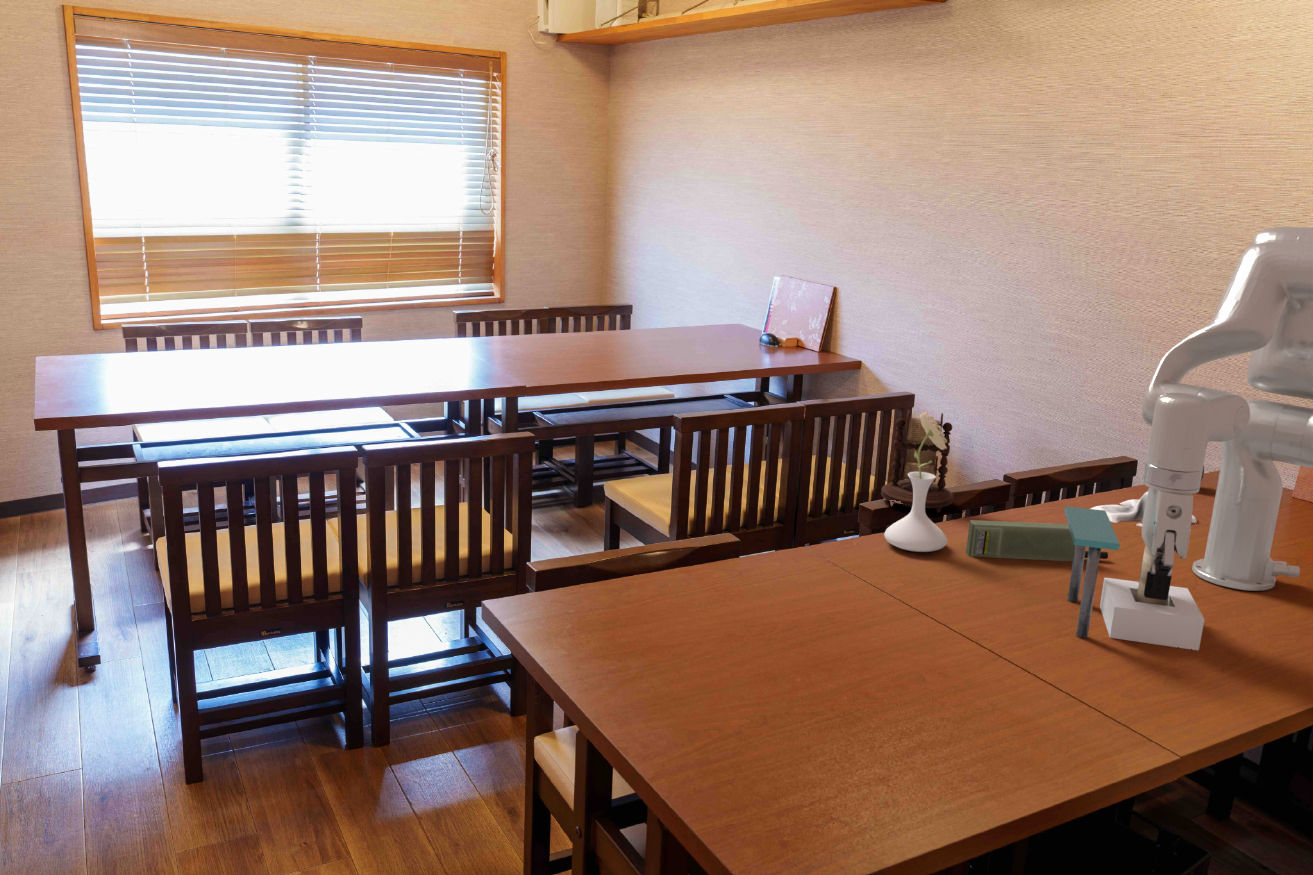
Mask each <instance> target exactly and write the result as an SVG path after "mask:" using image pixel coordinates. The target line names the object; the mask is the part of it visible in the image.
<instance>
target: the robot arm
mask: <svg viewBox="0 0 1313 875" xmlns="http://www.w3.org/2000/svg"><path fill="white" fill-rule="evenodd" d="M1247 353H1250V355H1249V360H1248V365H1247V368H1246V369H1247V370H1246V379H1247V382H1248V383H1249V385H1250V387H1252V388H1254V389H1256V390H1258V391H1261V392H1265V393H1270V394H1275V395H1281V396H1288V397H1294V398H1300V399H1305V400H1310V401H1311V400H1312V401H1313V227H1306V226H1305V227H1304V226H1303V227H1302V226H1301V227H1300V226H1277V227H1276V226H1275V227H1270V228H1268V227H1267V228H1266V229H1263V230H1260V231H1258V232H1257V233H1255V234H1254V236H1253V238H1252V240H1251V243H1250V246H1249V247H1248V248H1246V249H1245V250H1244V251H1243V253H1242V254H1241V255H1240V257H1239V259H1238V261H1237V263H1236V265H1235V267H1234V270H1233V271H1232V274H1231V277H1230V279H1229V281H1228V283H1227V285H1226V288H1225V289H1224V292H1223V293H1222V297H1221V298H1220V301H1219V303H1218V305H1217V307H1216V309H1215V312H1214V314H1213V317H1212V319H1211V320H1210V322H1209V323H1208V324H1206V325H1205V326H1203V327H1201V328H1199V329H1197V330H1196V331H1194V332H1192V333H1190V334H1189V335H1187V336H1185V337H1184V338H1183V339H1182V340H1180V341H1179V342H1178V343H1176V344H1175V345H1174V346H1172V347H1171V348H1170V349H1168V351H1167V352H1166V353H1165V354H1164V355H1163V356H1162V357H1161V359H1160V361H1159V362H1158V364H1157V365H1156V368H1155V370H1154V372H1153V374H1152V377H1151V378H1150V381H1149V383H1148V385H1147V388H1146V390H1145V391H1144V392H1145V393H1144V396H1143V398H1142V402H1141V415H1142V418H1143V420H1144V422H1145V423H1146V424H1147V425H1148V426H1150V428H1151V429H1150V433H1149V434H1150V435H1149V440H1148V447H1147V453H1146V459H1145V460H1146V461H1145V466H1144V472H1143V476H1142V477H1143V478H1142V484H1143V485H1144V486H1146V487H1148V490H1147V492H1148V495H1147V500H1146V505H1145V510H1144V516H1143V522H1142V523H1141V524H1142V527H1141V537H1142V538H1141V539H1142V540H1143V542H1144V544H1145V546H1147V548H1148V550H1149V551H1150V552H1151V553H1152V559H1151V567H1150V572H1149V571H1148V572H1147V578H1146V584H1145V590H1144V596H1145V597H1146V598H1152V599H1160V600H1167V599H1168V594H1169V589H1170V586H1171V583H1172V582H1171V581H1172V574H1173V569H1174V568H1173V567H1174V559H1175V552H1176V555H1177V556H1178V557H1179V558H1180V559H1182V560H1183V559H1185V558H1187V556H1188V552H1189V544H1190V537H1191V536H1190V535H1191V532H1190V530H1191V528H1192V524H1191V520H1192V515H1193V511H1194V510H1193V508H1194V507H1193V506H1194V494H1197V493H1199V492H1200V488H1201V483H1202V481H1201V478H1202V472H1203V466H1204V467H1205V459H1206V455H1207V454H1206V453H1207V448H1208V442H1210V443H1211V442H1215V443H1219V442H1220V443H1221V457H1220V458H1221V460H1220V469H1219V474H1218V479H1217V487H1216V491H1215V497H1214V502H1213V507H1212V514H1211V519H1210V524H1209V530H1208V536H1207V541H1206V547H1205V553H1204V558H1200V559H1197V560H1195V561H1194V562H1192V563H1193V564H1192V569H1191V570H1192V572H1193V573H1194V574H1195V575H1197V577H1199V578H1201V579H1202V580H1204V581H1207V582H1209V583H1212V584H1215V585H1218V586H1221V587H1226V588H1229V589H1235V590H1240V591H1241V590H1242V591H1251V592H1252V591H1254V592H1258V591H1259V592H1260V591H1261V592H1263V591H1268V590H1271V589H1273V588H1274V587H1275V585H1276V581H1277V580H1276V577H1278V576H1285V577H1290V578H1296V579H1297V578H1299V577H1300V574H1301V568H1300V566H1299V565H1290V564H1288V563H1287V562H1286V561H1280V560H1273V558H1272V557H1271V556H1270V554H1271V551H1272V550H1271V549H1272V545H1273V539H1274V536H1275V535H1274V534H1275V530H1276V525H1277V519H1278V516H1279V515H1278V514H1279V511H1280V510H1279V509H1280V505H1281V498H1282V496H1283V489H1284V488H1283V480H1282V477H1281V474H1280V472H1279V470H1278V468H1277V467H1276V465H1275V462H1280V463H1284V464H1291V465H1296V466H1300V467H1305V468H1310V469H1313V408H1311V407H1305V406H1299V405H1294V404H1289V403H1283V402H1277V401H1271V400H1265V399H1264V400H1263V399H1256V398H1255V399H1254V398H1253V399H1252V398H1251V399H1250V398H1247V399H1245V398H1244V397H1242V396H1241V395H1239V394H1237V393H1235V392H1232V391H1227V390H1221V389H1217V388H1216V389H1215V388H1208V387H1204V386H1198V385H1193V384H1187V383H1181V381H1182V380H1183V379H1184V377H1185V376H1187V375H1188V373H1190V372H1191V371H1193V370H1194V369H1196V368H1197V367H1199V366H1201V365H1204V364H1206V363H1209V362H1213V361H1216V360H1217V361H1218V360H1220V359H1221V360H1222V359H1225V358H1229V357H1234V356H1239V355H1241V354H1242V355H1243V354H1247ZM1202 479H1203V478H1202ZM1157 550H1163V553H1158V551H1157ZM1157 558H1162V560H1161V561H1158V562H1157ZM1142 561H1143V559H1142ZM1142 561H1141V562H1142ZM1141 567H1142V564H1141V566H1140V568H1141ZM1139 573H1140V574H1141V570H1140V571H1139ZM1140 574H1139V575H1140ZM1139 580H1140V577H1139V578H1138V581H1139Z"/></svg>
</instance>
